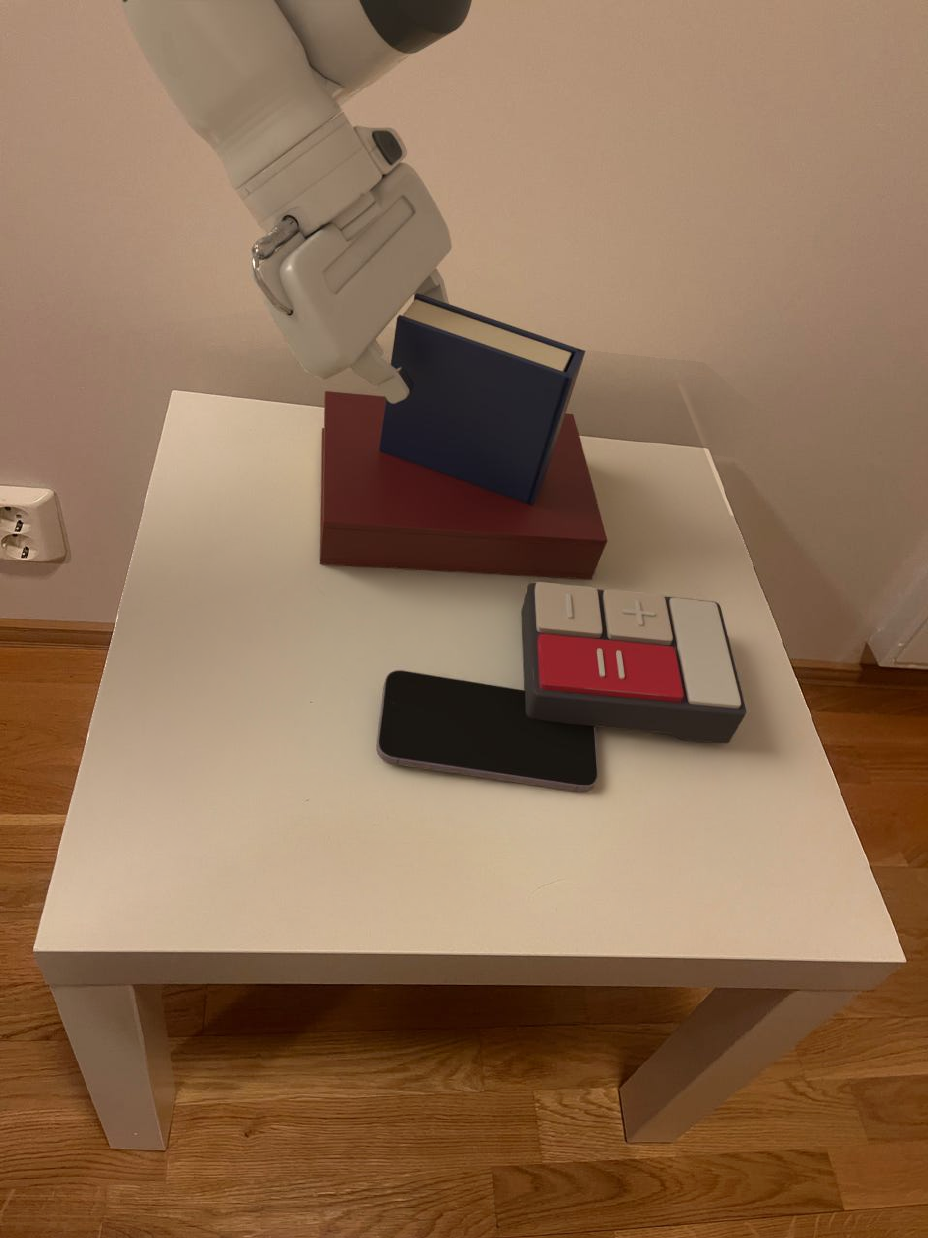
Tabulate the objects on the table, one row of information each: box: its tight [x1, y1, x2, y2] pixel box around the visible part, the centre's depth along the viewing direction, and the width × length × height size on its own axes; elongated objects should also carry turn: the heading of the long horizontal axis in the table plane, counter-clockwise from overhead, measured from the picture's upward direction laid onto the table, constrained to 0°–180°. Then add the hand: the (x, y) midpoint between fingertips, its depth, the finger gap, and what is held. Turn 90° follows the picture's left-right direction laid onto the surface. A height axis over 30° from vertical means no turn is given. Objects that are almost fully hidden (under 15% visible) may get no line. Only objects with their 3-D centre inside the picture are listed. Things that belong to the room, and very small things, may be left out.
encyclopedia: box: [319, 390, 608, 580], centre depth 76 cm, size 22×16×4 cm
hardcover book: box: [379, 293, 586, 506], centre depth 69 cm, size 4×13×12 cm, turn 71°
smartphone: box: [375, 669, 599, 793], centre depth 62 cm, size 7×1×15 cm
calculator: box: [521, 581, 748, 744], centre depth 66 cm, size 11×4×15 cm
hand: (427, 363), depth 68 cm, fingers open, 8 cm apart
